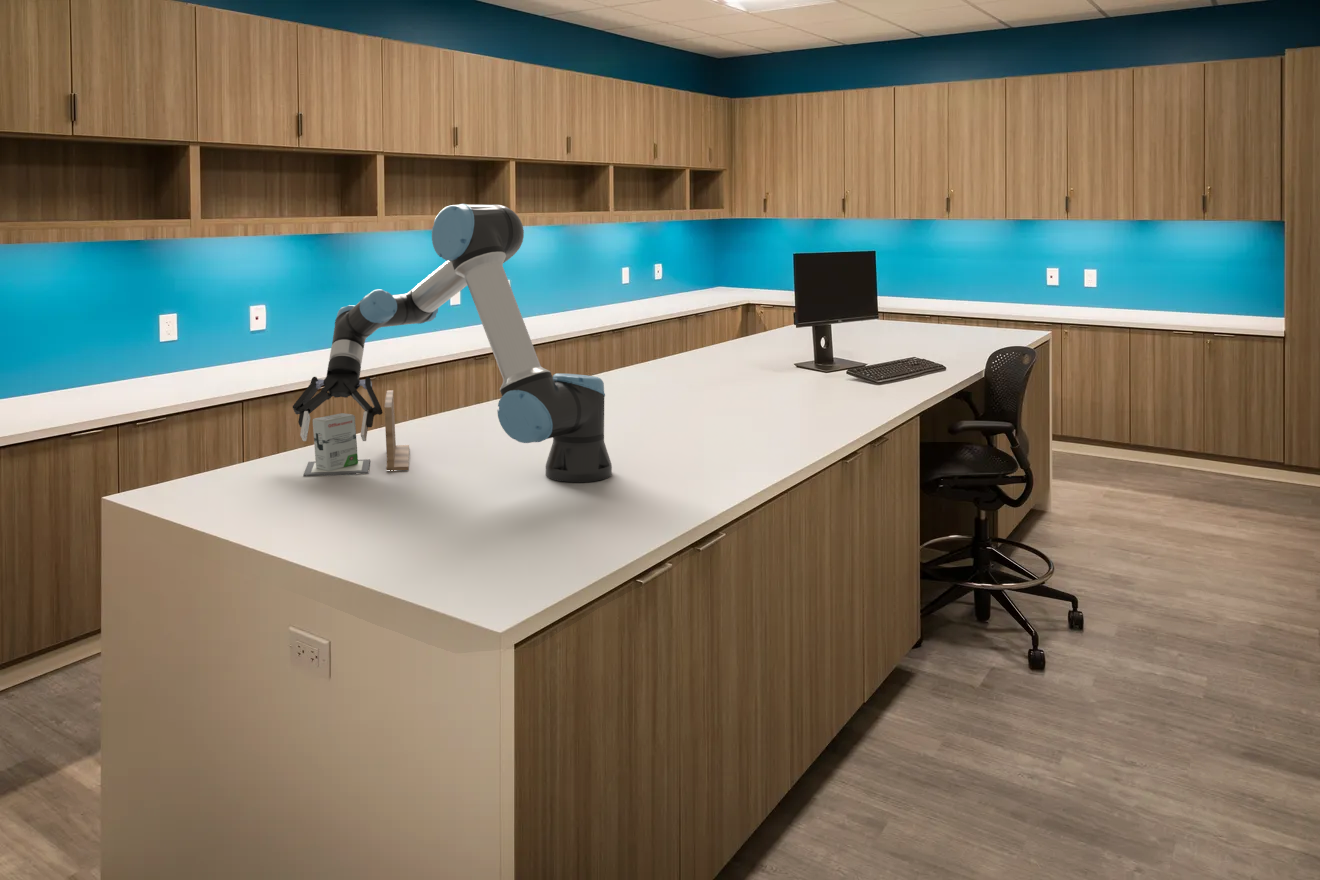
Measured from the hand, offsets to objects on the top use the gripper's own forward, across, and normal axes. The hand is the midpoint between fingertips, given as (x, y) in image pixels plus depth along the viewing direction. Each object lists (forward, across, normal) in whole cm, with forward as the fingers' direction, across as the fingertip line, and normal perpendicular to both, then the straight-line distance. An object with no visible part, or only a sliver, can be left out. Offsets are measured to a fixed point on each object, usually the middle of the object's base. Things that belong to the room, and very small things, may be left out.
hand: (333, 438), depth 239 cm
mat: (+5, -1, -5) cm, 7 cm away
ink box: (+5, 0, -5) cm, 7 cm away
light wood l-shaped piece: (0, -13, -10) cm, 17 cm away
